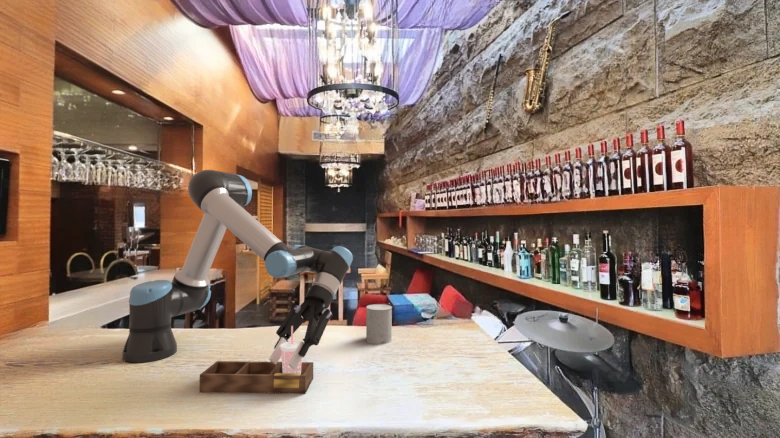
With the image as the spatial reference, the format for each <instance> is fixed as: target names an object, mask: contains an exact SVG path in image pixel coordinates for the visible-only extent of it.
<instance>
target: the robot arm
mask: <svg viewBox="0 0 780 438" xmlns="http://www.w3.org/2000/svg"><path fill="white" fill-rule="evenodd" d="M187 190H188V191H187V192H188V195H189V198H190V199H191V201H192V202H193V203H194V205H195V206H196V207H198V209H200V210H201V211H202V212H203V216H202V218H201V220H200V224H199V226H198V228H197V230H196V233H195V236H194V238H193V241H192V243H191V246H190V247H189V248H190V249H189V251H188V253H187V255H186V258H185V261H184V264H183V266H182V267H181V269H179V270H177V271H176V272H175V273H174V276H173V278H172V281H170V280H167V279H157V280H152V281H151V280H150V281H146V282H145V281H144V282H141V283H138V284H136V285H134V286H133V287H132V288H130V289H131V290H130V291H129V299H128V303H129V321H128V323H129V325H128V326H129V328H128V329H129V331H128V332H129V333H128V336H127V339H126V341H125V344H124V347H123V349H122V356H121V357H122V358H121V359H122V361H124V360H125V361H124V362H126V361H128V362H127V363H149V362H153V361H154V362H155V361H158V360H163V359H166V358H168V357H171V356H173V355H175V354H176V353H177V352H178V345H177V344H178V343H177V341H176V339H175V335H174V333H173V330H172V318H174V317H177V316H181V315H184V314H188V313H193V312H196V311H197V310H200V309H202V308H204V307H205V306H206V305H207V304H208V302H209V301H210V299H211V294H212V290H211V286H210V279H209V278H208V277H209V276H208V275H209V273H210V270H211V268H212V265H213V263H214V260H215V257H216V255H217V253H218V251H219V249H220V246H221V244H222V241H223V238H224V237H225V233H226V231H227V230H229V231H230V232H231V233H232V234H233V235H234V236H235V237H236V238H238V239H239V240H240V241H241V242H242V243H243V244H245V245H246V246H247V247H248V248H249V249H250V250H251V251H252V252H254V253H255V254H256V255H257V256H258V257H259V258H260V259H261V260H263V261H264V267H265V269H266V272H267V274H268V275H269V276H271V277H273V278H278V279H280V278H287V277H290V276H294V275H298V274H302V273H306V272H308V273H309V272H310V273H313V274H317V275H316V277H315V278H314V279H313V282H312V283H311V286H310V287H309V288H308V290H307V292H306V294H305V298H304V301H303V302H301V304H299V305H297V304H296V303H293V304H292V305H291V308H290V311H289V312H288V313H287V316H286V317H285V318H284V320H283V321H282V323H281V324H280V326H279V327H278V328H277V330H276V333H275V334H277V336H278V337H279V338H278V339H277V342H276V343H275V345H274V347H273V349H274V350H273V351H272V352H271V355H270V356H269V358H268V360H269V362H272V363H273V364H275V365H276V364H277V362H280V361H279V360H280V358H282V354H281V349H280V345H281V344H283V343H285V342H289V341H288V340H289V339H291V326H293V334H295V332H296V331H298V329H299V328H300V327H301V325H303V324H305V323H306V322H307V321H308V322H307V327H306V331H305V335H304V338H302V341H299V342H300V343H299V345H298V347H297V349H296V351H295V353H294V354H293V356H292V358H291V360H290V362H289V364H288V365H289V366H290V367H292V368H293V369H294V370H296V368H297V366H298V364H299V362H300V360H301V359H302V360H303V358H304V357H306V355H307V352H308V351H309V349H310V347H312V346H318V345H319V343H320V341H321V340H322V339H321V338H322V337H323V334H324V332H325V329H326V328H327V325H328V323H329V321H330V320H331V319H332V317H333V313H332V311H331V310H330V309H329V307H330V306H331V303H332V302H333V299H334V296H336V294H337V291H338V290H339V288H340V286H341V284H342V282H343V280H344V278H345V276H346V275H347V273H348V271H349V270H350V267H351V265H352V262H353V260H354V256H353V253H352V252H351V251H350V249H348V248H346V247H344V246H342V245H341V246H340V245H338V246H337V245H336V246H334V247H333V248H332V249H331V250H330V251H328V250H322V249H318V248H314V247H311V246H308V245H306V244H305V245H301V244H295V245H294V246H293V247H291V248H290V247H289V246H288V245H287V244H285V243H284V242H283V241H282V240H281V239H279V238H278V237H277V236H276V235H275V234H273V232H271V231H270V230H269V229H268V228H267V227H266V226H264V225H263V224H262V223H261V222H260V221H258V220H257V218H255V217H254V216H252V214H251V213H250V212H248V211H247V210H246V209H245V208H244V207H245V206H247V205H248V204H249V203H250V202H251V200H252V195H253V190H252V187H251V183H250V182H249V180H248V179H247V178H246V177H245V176H243V175H240V174H236V173H233V172H225V171H220V170H214V169H204V170H200V171H198V172H196V173H195V174H193V175H192V177H191V178H190V180H189V182H188V186H187ZM148 361H149V362H148Z"/></svg>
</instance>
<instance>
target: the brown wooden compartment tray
mask: <svg viewBox="0 0 780 438" xmlns="http://www.w3.org/2000/svg"><path fill="white" fill-rule="evenodd" d="M313 380H314V362H313V361H311V362H310V361H302V364H301V375H300V373H283V372H282V361H278V362H277V364H276V365H275V364H273V363H272V362H271V361H249V360H248V361H245V360H244V361H243V360H242V361H241V360H240V361H239V360H238V361H236V360H234V361H233V360H231V361H230V360H227V361H226V360H223V361H222V360H217V361H215V362H214V363H212V364H211V365H210V366H209V367H208V368H206V369H205V370H204V371H203V372H202V373H200V374H199V393H208V394H209V393H211V394H213V393H217V394H218V393H219V394H223V393H224V394H229V393H230V394H233V393H234V394H238V393H239V394H284V395H285V394H286V395H287V394H289V395H290V394H294V395H295V394H298V395H299V394H301V395H302V394H303V395H304V394H305V395H306V393H307V391H308V390H309V388H310V385H311V384H312V382H313Z"/></svg>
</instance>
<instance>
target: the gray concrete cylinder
mask: <svg viewBox="0 0 780 438" xmlns="http://www.w3.org/2000/svg"><path fill="white" fill-rule="evenodd" d="M365 308H366V319H365V320H366V323H365V325H366V328H365V330H366V331H365V332H366V333H365V339H366V340H365V341H366V342H367V343H369V344H372V345H384V344H389V343H391V342H392V341H393V340H392V339H393V338H392V334H393V333H392V332H393V331H392V329H393V328H392V324H393V323H392V320H393V318H392V317H393V316H392V315H393V310H392V309H393V306H391V305H390V304H385V303H382V304H381V303H375V304H374V303H373V304H368V305H366V307H365Z"/></svg>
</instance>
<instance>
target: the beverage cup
mask: <svg viewBox="0 0 780 438" xmlns="http://www.w3.org/2000/svg"><path fill="white" fill-rule="evenodd" d="M300 342H301V341H298V340H297V341H295V340H294V333H293V326H291V337H290V341H288V342H285V343H283V344H281V345H280V349H281V354H282V355H281V362H282V372H283V373H300V375H301V364H302V362H303V358H302V359H301V360H300V362H299V364H298V366H297V368H296V370H294V369H293V368H292V367H290V366H289V365H288V364H289V362H290V360H291V358H292V356H293V354H294V353H295V351H296V349H297V347H298V345H299V343H300Z"/></svg>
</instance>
